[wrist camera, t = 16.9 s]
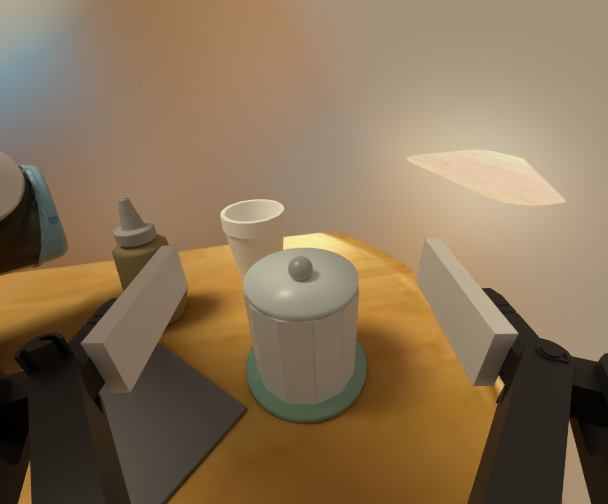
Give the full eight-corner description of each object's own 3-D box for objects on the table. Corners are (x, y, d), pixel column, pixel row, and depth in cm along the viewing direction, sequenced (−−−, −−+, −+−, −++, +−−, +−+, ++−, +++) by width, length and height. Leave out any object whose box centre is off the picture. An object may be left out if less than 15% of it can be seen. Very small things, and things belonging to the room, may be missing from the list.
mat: (30, 437, 29) (28, 435, 29) (159, 345, 39) (159, 343, 39) (107, 567, 21) (105, 566, 21) (246, 409, 31) (246, 407, 31)
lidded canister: (239, 371, 34) (214, 269, 27) (295, 315, 41) (288, 224, 34) (320, 425, 28) (317, 313, 21) (369, 348, 36) (378, 247, 29)
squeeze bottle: (195, 323, 42) (159, 204, 33) (133, 341, 40) (75, 218, 31) (191, 291, 49) (159, 185, 40) (137, 305, 46) (91, 195, 37)
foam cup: (300, 274, 52) (295, 204, 45) (269, 305, 45) (258, 228, 38) (257, 262, 56) (247, 196, 50) (223, 288, 49) (206, 216, 43)
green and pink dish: (221, 379, 34) (213, 351, 32) (294, 310, 44) (292, 284, 41) (325, 453, 27) (325, 424, 24) (385, 350, 37) (388, 322, 34)
